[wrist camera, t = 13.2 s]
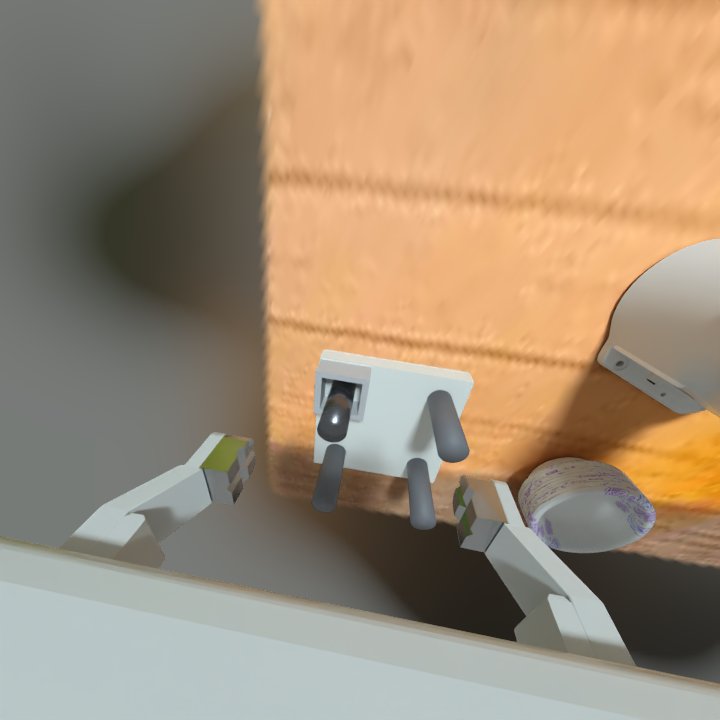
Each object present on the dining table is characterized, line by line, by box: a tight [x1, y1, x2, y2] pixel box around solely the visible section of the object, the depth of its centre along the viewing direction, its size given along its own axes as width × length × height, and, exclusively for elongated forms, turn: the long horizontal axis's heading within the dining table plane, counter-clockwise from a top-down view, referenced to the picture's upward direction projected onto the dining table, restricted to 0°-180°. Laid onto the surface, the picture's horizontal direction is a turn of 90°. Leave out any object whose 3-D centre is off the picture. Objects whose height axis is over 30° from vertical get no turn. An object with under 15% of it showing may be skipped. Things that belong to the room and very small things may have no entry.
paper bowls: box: [518, 457, 656, 553], centre depth 40 cm, size 15×15×8 cm
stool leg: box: [317, 380, 356, 442], centre depth 32 cm, size 3×3×9 cm
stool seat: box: [312, 349, 474, 530], centre depth 36 cm, size 20×20×12 cm
